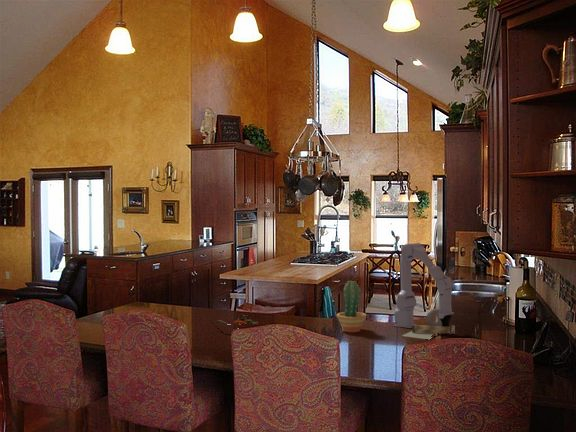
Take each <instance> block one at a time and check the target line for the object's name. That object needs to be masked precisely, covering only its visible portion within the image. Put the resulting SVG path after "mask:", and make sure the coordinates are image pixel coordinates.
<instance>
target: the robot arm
mask: <svg viewBox="0 0 576 432" xmlns="http://www.w3.org/2000/svg"><path fill="white" fill-rule="evenodd" d="M414 259H419V260H420V262H422V263H423V264H424V266H425V267H426V268H427V269H428V274H429V275H430V276H431V278H432V279H433V281H435V283H436V288H437V291H438V309H439V318H440V320H441V322H442V325H441V326H447V327H448V326H450V322H451V319H452V318H453V315H454V314H455V312H454V311H452V289H453V288H454V285H455V283H454V281H453V279H452V277H450V276H449V277H448V276H447V275H446V274H445V273H444V271H443V270H442V268H441V266H438V265H435V264H434V262H433V261H432V259H431V258H430V257H429V255H428V253H427V251H426V248H425V247H424V246H423V245H422V243H420V242H416V243H405V244H404V245H403V246H401V253H400V256H399V260H400V261H399V263H400V265H399V266H400V267H399V268H400V291H399V292H398V293H397V296H396V297H397V298H396V301H395V304H396V308H395V309H394V314H393V315H394V317H393V318H394V321H393V322H394V323H393V327H398V328H399V327H400V328H408V329H412V325H417V324H415V323H414V322H415V321H414V310H415V307H416V305H417V299H416V294H415V292H413V290H412V289H413V288H412V287H413V286H412V261H413V260H414Z"/></svg>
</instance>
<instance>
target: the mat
mask: <svg viewBox="0 0 576 432" xmlns="http://www.w3.org/2000/svg"><path fill="white" fill-rule="evenodd" d="M433 334H435V333H419V332H412V330H410V331H409V332H406V333H404V334H403V335H401V337H404V338H412V339H420V340H425V339H428V340H427V341H431V340H432V339H431V338H432V337H431V336H432V335H433ZM430 339H431V340H430Z"/></svg>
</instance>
